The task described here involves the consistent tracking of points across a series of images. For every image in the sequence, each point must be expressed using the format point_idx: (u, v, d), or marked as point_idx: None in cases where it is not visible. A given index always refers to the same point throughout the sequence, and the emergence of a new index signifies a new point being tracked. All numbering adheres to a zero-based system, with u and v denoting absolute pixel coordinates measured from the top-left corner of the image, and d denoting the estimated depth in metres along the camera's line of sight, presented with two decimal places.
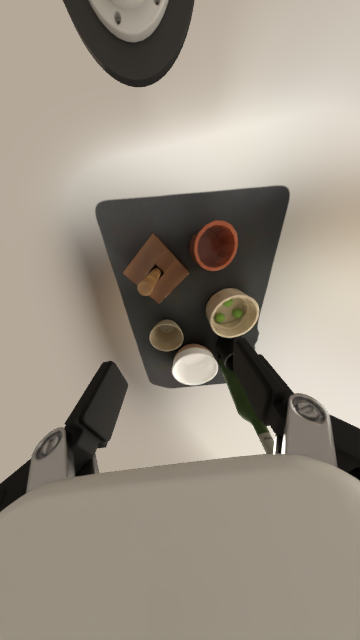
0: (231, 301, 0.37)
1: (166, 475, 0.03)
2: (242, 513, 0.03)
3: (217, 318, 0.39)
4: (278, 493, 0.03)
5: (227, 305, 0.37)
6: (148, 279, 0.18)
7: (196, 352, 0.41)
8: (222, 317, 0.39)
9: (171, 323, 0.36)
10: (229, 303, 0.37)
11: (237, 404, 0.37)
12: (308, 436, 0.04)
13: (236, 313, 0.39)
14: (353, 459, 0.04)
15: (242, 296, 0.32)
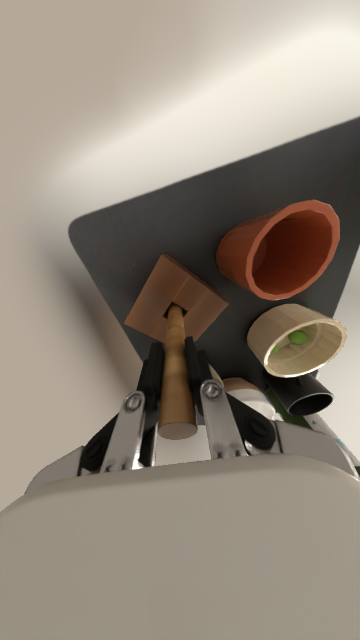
0: None
1: (166, 475, 0.03)
2: (242, 513, 0.03)
3: None
4: (278, 493, 0.03)
5: None
6: (179, 389, 0.07)
7: (243, 399, 0.29)
8: (276, 347, 0.26)
9: None
10: None
11: None
12: (217, 413, 0.05)
13: (298, 338, 0.26)
14: None
15: (319, 321, 0.19)
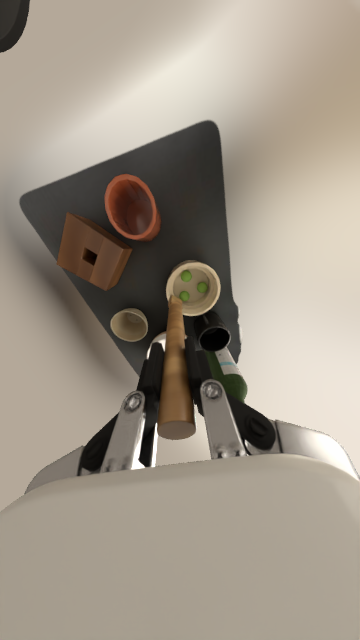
0: (188, 274, 0.33)
1: (166, 475, 0.03)
2: (242, 513, 0.03)
3: (180, 297, 0.36)
4: (278, 493, 0.03)
5: (185, 280, 0.33)
6: (178, 388, 0.07)
7: None
8: (185, 294, 0.35)
9: (129, 310, 0.34)
10: (186, 277, 0.33)
11: None
12: (217, 413, 0.05)
13: (199, 287, 0.35)
14: None
15: (192, 264, 0.28)
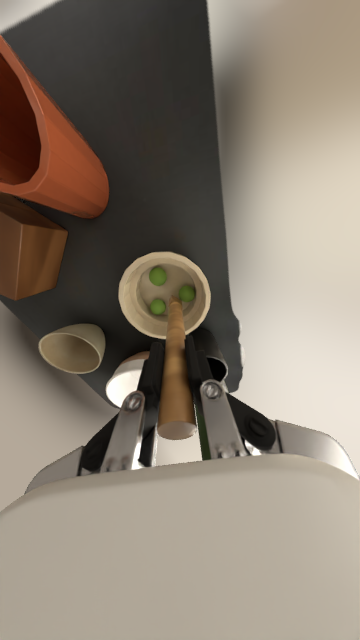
0: (160, 274, 0.20)
1: (166, 475, 0.03)
2: (242, 513, 0.03)
3: (151, 308, 0.23)
4: (278, 493, 0.03)
5: (156, 283, 0.21)
6: (179, 388, 0.07)
7: (131, 368, 0.25)
8: (158, 305, 0.23)
9: (67, 330, 0.22)
10: (157, 278, 0.20)
11: (202, 455, 0.20)
12: (217, 413, 0.05)
13: (183, 293, 0.22)
14: None
15: (158, 255, 0.16)
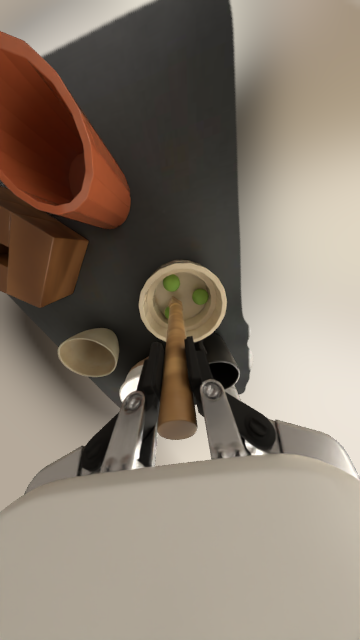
0: (172, 279, 0.21)
1: (166, 475, 0.03)
2: (242, 513, 0.03)
3: (166, 314, 0.24)
4: (278, 493, 0.03)
5: (168, 287, 0.21)
6: (179, 388, 0.07)
7: None
8: None
9: (85, 335, 0.22)
10: (169, 283, 0.21)
11: None
12: (217, 413, 0.05)
13: (198, 295, 0.22)
14: None
15: (180, 266, 0.17)
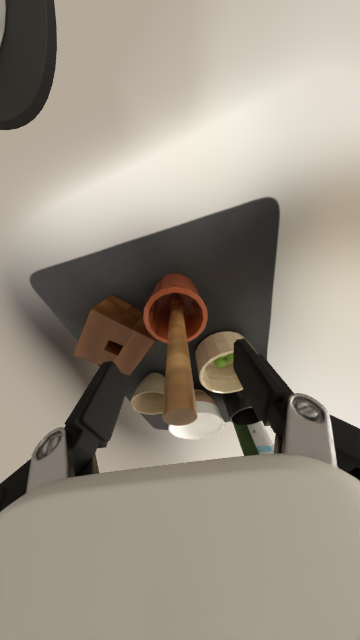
0: (226, 355, 0.29)
1: (166, 475, 0.03)
2: (242, 513, 0.03)
3: (221, 360, 0.30)
4: (278, 493, 0.03)
5: None
6: (182, 381, 0.08)
7: None
8: None
9: (153, 388, 0.29)
10: (223, 357, 0.29)
11: None
12: (308, 436, 0.04)
13: None
14: (353, 459, 0.04)
15: None
